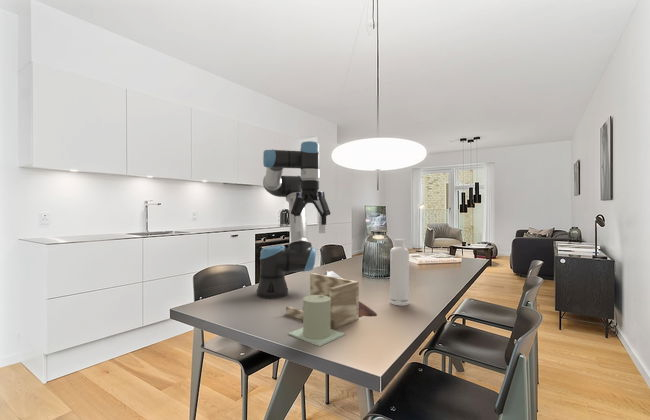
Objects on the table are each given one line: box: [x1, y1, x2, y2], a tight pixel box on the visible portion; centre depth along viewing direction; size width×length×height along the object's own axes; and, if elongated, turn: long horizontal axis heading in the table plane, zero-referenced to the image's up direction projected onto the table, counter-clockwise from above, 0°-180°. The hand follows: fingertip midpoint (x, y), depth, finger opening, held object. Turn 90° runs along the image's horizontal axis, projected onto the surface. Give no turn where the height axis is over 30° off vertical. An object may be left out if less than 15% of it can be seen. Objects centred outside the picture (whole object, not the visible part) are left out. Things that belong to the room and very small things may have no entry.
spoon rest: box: [323, 270, 344, 279], centre depth 174 cm, size 24×12×7 cm, turn 16°
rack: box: [285, 272, 360, 330], centre depth 125 cm, size 24×15×14 cm, turn 48°
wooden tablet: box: [359, 300, 377, 318], centre depth 138 cm, size 26×2×10 cm
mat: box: [288, 327, 345, 347], centre depth 107 cm, size 14×12×1 cm
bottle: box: [389, 238, 410, 307], centre depth 143 cm, size 8×8×28 cm
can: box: [302, 295, 331, 339], centre depth 107 cm, size 9×9×12 cm
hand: (309, 232), depth 133 cm, fingers open, 13 cm apart
